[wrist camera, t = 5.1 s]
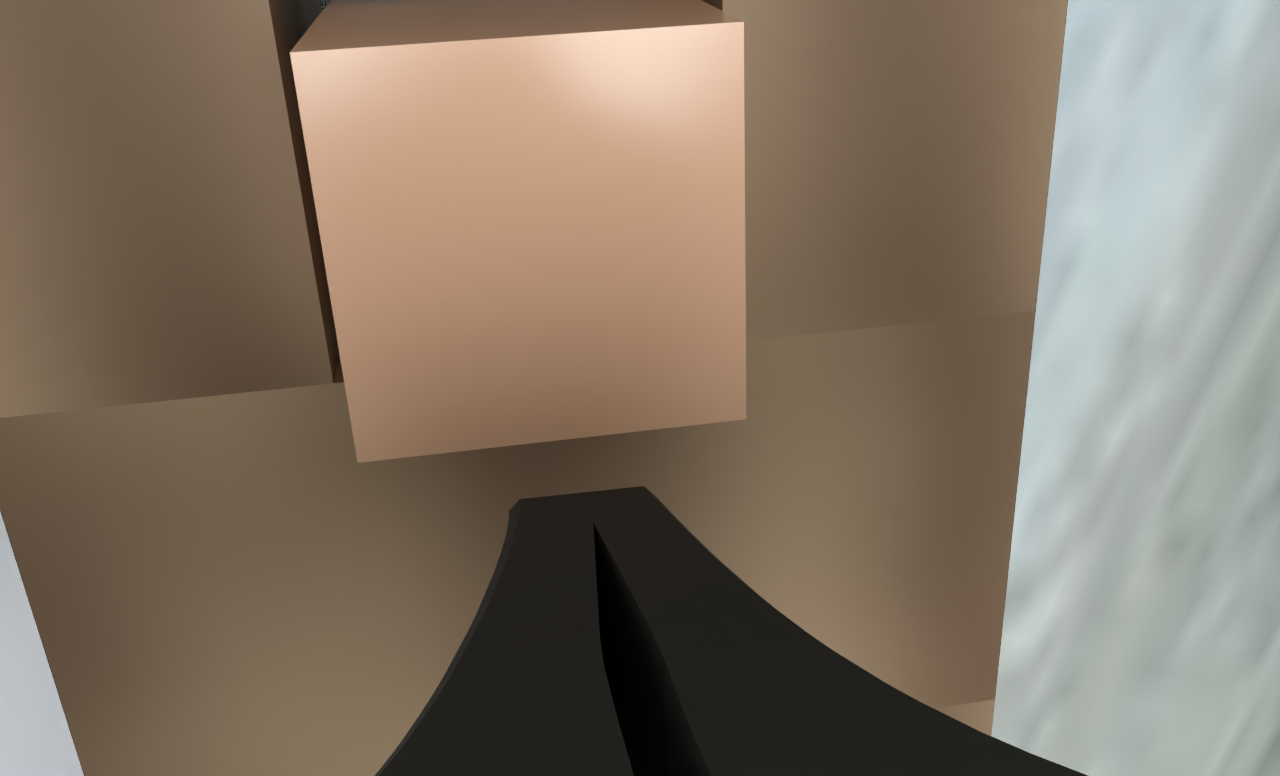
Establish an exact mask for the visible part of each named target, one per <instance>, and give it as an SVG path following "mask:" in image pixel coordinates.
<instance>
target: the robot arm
mask: <svg viewBox="0 0 1280 776" xmlns="http://www.w3.org/2000/svg"><path fill="white" fill-rule="evenodd" d="M375 776H1087V775H1085V774H1082V773H1079V772H1077V771H1074V770H1072V769H1069V768H1067V767H1064V766H1061V765H1059V764H1056V763H1054V762H1051V761H1049V760H1046V759H1043V758H1041V757H1038V756H1036V755H1033V754H1030V753H1028V752H1026V751H1023V750H1021V749H1019V748H1017V747H1014V746H1012V745H1010V744H1007V743H1005V742H1003V741H1000V740H998V739H996V738H994V737H991V736H989V735H987V734H985V733H982V732H980V731H978V730H976V729H974V728H972V727H970V726H968V725H966V724H964V723H962V722H960V721H958V720H956V719H954V718H952V717H950V716H948V715H946V714H944V713H942V712H940V711H938V710H936V709H934V708H932V707H930V706H928V705H926V704H924V703H921V702H920V701H918V700H916V699H914V698H912V697H910V696H909V695H907V694H905V693H903V692H901V691H899V690H898V689H896V688H894V687H892V686H890V685H889V684H887V683H885V682H884V681H882V680H880V679H879V678H877V677H875V676H874V675H872V674H871V673H869V672H867V671H866V670H864V669H862V668H861V667H859V666H858V665H856V664H854V663H853V662H851V661H850V660H848V659H846V658H845V657H843V656H841V655H840V654H838V653H837V652H835V651H833V650H832V649H830V648H829V647H828V646H826V645H825V644H823V643H822V642H820V641H819V640H817V639H816V638H814V637H813V636H811V635H810V634H809V633H807V632H806V631H805V630H803V629H802V628H801V627H799V626H798V625H797V624H795V623H794V622H793V621H791V620H790V619H789V618H787V617H786V616H785V615H783V614H782V613H781V612H779V611H778V610H777V609H775V608H774V607H773V606H772V605H771V604H769V603H768V602H767V601H766V600H765V599H763V598H762V597H761V596H760V595H758V594H757V593H756V592H755V591H754V590H753V589H752V588H750V587H749V586H748V585H747V584H746V583H745V582H744V581H742V580H741V579H740V578H739V577H738V576H737V575H736V574H735V573H733V572H732V571H731V570H730V569H729V568H728V567H727V566H725V565H724V564H723V563H722V562H721V561H720V560H719V559H718V558H717V557H716V556H715V555H714V554H712V553H711V552H710V551H709V550H708V549H707V548H706V547H705V546H704V545H703V544H702V543H701V542H700V541H699V540H698V539H697V538H696V537H695V536H694V535H693V534H692V533H691V532H690V531H689V530H688V529H687V528H686V527H685V526H684V525H683V524H682V523H681V522H680V521H679V520H678V519H677V518H676V517H675V516H674V515H673V514H672V513H671V512H670V511H669V510H668V509H667V508H666V506H665V505H664V504H663V503H662V502H661V501H660V500H659V499H658V498H657V497H656V496H655V495H654V494H653V493H652V492H650V491H649V490H648V489H647V488H646V487H645V486H639V487H630V488H620V489H610V490H601V491H591V492H582V493H572V494H563V495H553V496H544V497H534V498H525V499H519V500H518V502H517V503H516V504H515V505H514V506H513V507H512V508H511V509H510V510H509V522H508V527H507V532H506V536H505V540H504V544H503V547H502V551H501V553H500V556H499V559H498V562H497V565H496V568H495V571H494V574H493V576H492V578H491V581H490V583H489V585H488V588H487V590H486V592H485V595H484V597H483V600H482V602H481V604H480V607H479V609H478V611H477V614H476V616H475V618H474V620H473V622H472V624H471V626H470V628H469V630H468V632H467V634H466V636H465V638H464V639H463V641H462V643H461V645H460V647H459V649H458V651H457V652H456V654H455V656H454V658H453V660H452V662H451V664H450V666H449V667H448V669H447V671H446V673H445V675H444V677H443V678H442V680H441V682H440V683H439V685H438V687H437V688H436V690H435V691H434V693H433V695H432V696H431V698H430V700H429V701H428V703H427V704H426V706H425V707H424V709H423V710H422V712H421V713H420V715H419V716H418V718H417V719H416V721H415V722H414V724H413V725H412V727H411V728H410V729H409V731H408V732H407V734H406V735H405V737H404V738H403V739H402V741H401V742H400V744H399V745H398V746H397V748H396V749H395V751H394V752H393V753H392V754H391V756H390V757H389V758H388V759H387V761H386V762H385V763H384V765H383V766H382V767H381V768H380V770H379V771H378V772H377V773H376V775H375Z"/></svg>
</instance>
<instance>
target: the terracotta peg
mask: <svg viewBox="0 0 1280 776" xmlns="http://www.w3.org/2000/svg"><path fill="white" fill-rule="evenodd" d="M290 57H291V63H292V69H293V75H294V81H295V87H296V93H297V99H298V105H299V111H300V117H301V123H302V129H303V136H304V142H305V148H306V154H307V160H308V166H309V172H310V178H311V184H312V190H313V196H314V202H315V208H316V214H317V220H318V226H319V233H320V239H321V245H322V251H323V257H324V263H325V269H326V275H327V281H328V287H329V293H330V299H331V305H332V311H333V317H334V323H335V329H336V336H337V342H338V348H339V354H340V360H341V366H342V372H343V378H344V384H345V390H346V396H347V402H348V408H349V414H350V420H351V426H352V432H353V439H354V445H355V451H356V457H357V463H361V462H370V461H379V460H388V459H396V458H405V457H414V456H423V455H432V454H441V453H450V452H459V451H468V450H477V449H486V448H495V447H504V446H512V445H521V444H530V443H539V442H548V441H557V440H566V439H575V438H584V437H593V436H602V435H611V434H620V433H628V432H637V431H646V430H655V429H664V428H673V427H682V426H691V425H700V424H709V423H718V422H727V421H736V420H744V419H746V277H745V123H744V22H743V21H741V20H739V19H737V18H735V17H733V16H731V15H729V14H727V13H725V12H723V11H721V10H719V9H718V8H716V7H714V6H712V5H710V4H708V3H706V2H704V1H702V0H330V2H329V3H328V4H327V5H326V7H325V8H324V9H323V11H322V12H321V13H320V14H319V16H318V17H317V18H316V20H315V21H314V22H313V23H312V25H311V26H310V27H309V28H308V30H307V31H306V32H305V34H304V35H303V36H302V37H301V39H300V40H299V41H298V43H297V44H296V45H295V46H294V48H293V49H292V50H291V52H290Z"/></svg>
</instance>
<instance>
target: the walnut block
mask: <svg viewBox="0 0 1280 776" xmlns="http://www.w3.org/2000/svg"><path fill="white" fill-rule="evenodd" d="M702 1H704V2H706V3H708V4H710V5H712V6H714V7H716V8H718V9H719V10H721V11H723V12H725V13H727V14H729V15H731V16H733V17H735V18H737V19H739V20H741V21H743V22H744V123H745V277H746V419H744V420H736V421H727V422H718V423H709V424H700V425H691V426H682V427H673V428H664V429H655V430H646V431H637V432H628V433H620V434H611V435H602V436H593V437H584V438H575V439H566V440H557V441H548V442H539V443H530V444H521V445H512V446H504V447H495V448H486V449H477V450H468V451H459V452H450V453H441V454H432V455H423V456H414V457H405V458H396V459H388V460H379V461H370V462H361V463H357V457H356V451H355V445H354V439H353V432H352V426H351V420H350V414H349V408H348V402H347V396H346V390H345V384H344V378H343V372H342V366H341V360H340V354H339V348H338V342H337V336H336V329H335V323H334V317H333V311H332V305H331V299H330V293H329V287H328V281H327V275H326V269H325V263H324V257H323V251H322V245H321V239H320V233H319V226H318V220H317V214H316V208H315V202H314V196H313V190H312V184H311V178H310V172H309V166H308V160H307V154H306V148H305V142H304V136H303V129H302V123H301V117H300V111H299V105H298V99H297V93H296V87H295V81H294V75H293V69H292V63H291V57H290V52H291V50H292V49H293V48H294V46H295V45H296V44H297V43H298V41H299V40H300V39H301V37H302V36H303V35H304V34H305V32H306V31H307V30H308V28H309V27H310V26H311V25H312V23H313V22H314V21H315V20H316V18H317V17H318V16H319V14H320V13H321V12H322V10H321V3H320V0H0V511H1V515H2V518H3V521H4V524H5V527H6V530H7V533H8V537H9V540H10V543H11V546H12V549H13V552H14V556H15V559H16V562H17V565H18V568H19V571H20V575H21V578H22V581H23V584H24V587H25V590H26V593H27V597H28V600H29V603H30V606H31V609H32V612H33V616H34V619H35V622H36V625H37V628H38V631H39V635H40V638H41V641H42V644H43V647H44V650H45V653H46V657H47V660H48V663H49V666H50V669H51V672H52V676H53V679H54V682H55V685H56V688H57V691H58V695H59V698H60V701H61V704H62V707H63V710H64V713H65V717H66V720H67V723H68V726H69V729H70V732H71V736H72V739H73V742H74V745H75V748H76V751H77V754H78V758H79V761H80V764H81V767H82V770H83V773H84V776H375V775H376V773H377V772H378V771H379V770H380V768H381V767H382V766H383V765H384V763H385V762H386V761H387V759H388V758H389V757H390V756H391V754H392V753H393V752H394V751H395V749H396V748H397V746H398V745H399V744H400V742H401V741H402V739H403V738H404V737H405V735H406V734H407V732H408V731H409V729H410V728H411V727H412V725H413V724H414V722H415V721H416V719H417V718H418V716H419V715H420V713H421V712H422V710H423V709H424V707H425V706H426V704H427V703H428V701H429V700H430V698H431V696H432V695H433V693H434V691H435V690H436V688H437V687H438V685H439V683H440V682H441V680H442V678H443V677H444V675H445V673H446V671H447V669H448V667H449V666H450V664H451V662H452V660H453V658H454V656H455V654H456V652H457V651H458V649H459V647H460V645H461V643H462V641H463V639H464V638H465V636H466V634H467V632H468V630H469V628H470V626H471V624H472V622H473V620H474V618H475V616H476V614H477V611H478V609H479V607H480V604H481V602H482V600H483V597H484V595H485V592H486V590H487V588H488V585H489V583H490V581H491V578H492V576H493V574H494V571H495V568H496V565H497V562H498V559H499V556H500V553H501V551H502V547H503V544H504V540H505V536H506V532H507V527H508V522H509V510H510V509H511V508H512V507H513V506H514V505H515V504H516V503H517V502H518V500H519V499H525V498H534V497H544V496H553V495H563V494H572V493H582V492H591V491H601V490H610V489H620V488H630V487H639V486H645V487H646V488H647V489H648V490H649V491H650V492H652V493H653V494H654V495H655V496H656V497H657V498H658V499H659V500H660V501H661V502H662V503H663V504H664V505H665V506H666V508H667V509H668V510H669V511H670V512H671V513H672V514H673V515H674V516H675V517H676V518H677V519H678V520H679V521H680V522H681V523H682V524H683V525H684V526H685V527H686V528H687V529H688V530H689V531H690V532H691V533H692V534H693V535H694V536H695V537H696V538H697V539H698V540H699V541H700V542H701V543H702V544H703V545H704V546H705V547H706V548H707V549H708V550H709V551H710V552H711V553H712V554H714V555H715V556H716V557H717V558H718V559H719V560H720V561H721V562H722V563H723V564H724V565H725V566H727V567H728V568H729V569H730V570H731V571H732V572H733V573H735V574H736V575H737V576H738V577H739V578H740V579H741V580H742V581H744V582H745V583H746V584H747V585H748V586H749V587H750V588H752V589H753V590H754V591H755V592H756V593H757V594H758V595H760V596H761V597H762V598H763V599H765V600H766V601H767V602H768V603H769V604H771V605H772V606H773V607H774V608H775V609H777V610H778V611H779V612H781V613H782V614H783V615H785V616H786V617H787V618H789V619H790V620H791V621H793V622H794V623H795V624H797V625H798V626H799V627H801V628H802V629H803V630H805V631H806V632H807V633H809V634H810V635H811V636H813V637H814V638H816V639H817V640H819V641H820V642H822V643H823V644H825V645H826V646H828V647H829V648H830V649H832V650H833V651H835V652H837V653H838V654H840V655H841V656H843V657H845V658H846V659H848V660H850V661H851V662H853V663H854V664H856V665H858V666H859V667H861V668H862V669H864V670H866V671H867V672H869V673H871V674H872V675H874V676H875V677H877V678H879V679H880V680H882V681H884V682H885V683H887V684H889V685H890V686H892V687H894V688H896V689H898V690H899V691H901V692H903V693H905V694H907V695H909V696H910V697H912V698H914V699H916V700H918V701H920V702H921V703H924V704H926V705H928V706H930V707H932V708H934V709H936V710H938V711H940V712H942V713H944V714H946V715H948V716H950V717H952V718H954V719H956V720H958V721H960V722H962V723H964V724H966V725H968V726H970V727H972V728H974V729H976V730H978V731H980V732H982V733H985V734H987V735H989V736H991V732H992V722H993V713H994V703H995V694H996V684H997V675H998V665H999V656H1000V646H1001V636H1002V627H1003V617H1004V608H1005V598H1006V589H1007V579H1008V570H1009V560H1010V550H1011V541H1012V531H1013V522H1014V512H1015V503H1016V493H1017V484H1018V474H1019V465H1020V455H1021V445H1022V436H1023V426H1024V417H1025V407H1026V398H1027V388H1028V379H1029V369H1030V359H1031V350H1032V340H1033V331H1034V321H1035V312H1036V302H1037V293H1038V283H1039V274H1040V264H1041V254H1042V245H1043V235H1044V226H1045V216H1046V207H1047V197H1048V188H1049V178H1050V169H1051V159H1052V149H1053V140H1054V130H1055V121H1056V111H1057V102H1058V92H1059V83H1060V73H1061V63H1062V54H1063V44H1064V35H1065V25H1066V16H1067V6H1068V0H702Z"/></svg>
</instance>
